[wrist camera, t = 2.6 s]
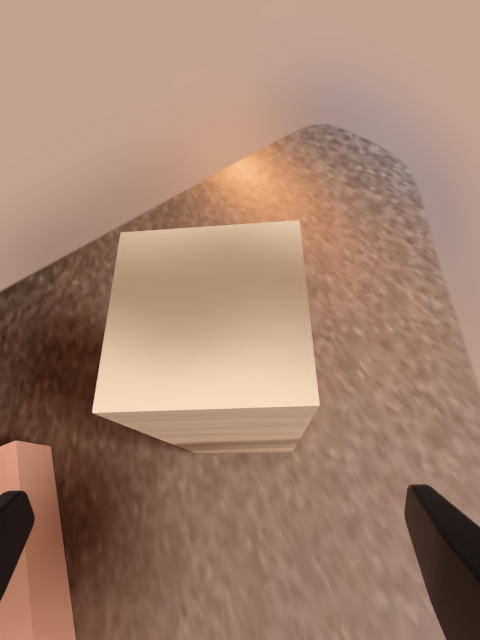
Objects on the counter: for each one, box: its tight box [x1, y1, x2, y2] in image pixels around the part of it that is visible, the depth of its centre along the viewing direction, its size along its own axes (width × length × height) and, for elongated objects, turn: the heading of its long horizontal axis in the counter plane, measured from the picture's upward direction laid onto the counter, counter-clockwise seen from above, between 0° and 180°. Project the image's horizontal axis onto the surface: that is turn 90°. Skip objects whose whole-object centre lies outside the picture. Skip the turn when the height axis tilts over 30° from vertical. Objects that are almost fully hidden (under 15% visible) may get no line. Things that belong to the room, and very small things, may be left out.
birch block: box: [92, 220, 320, 455], centre depth 14 cm, size 5×5×12 cm
